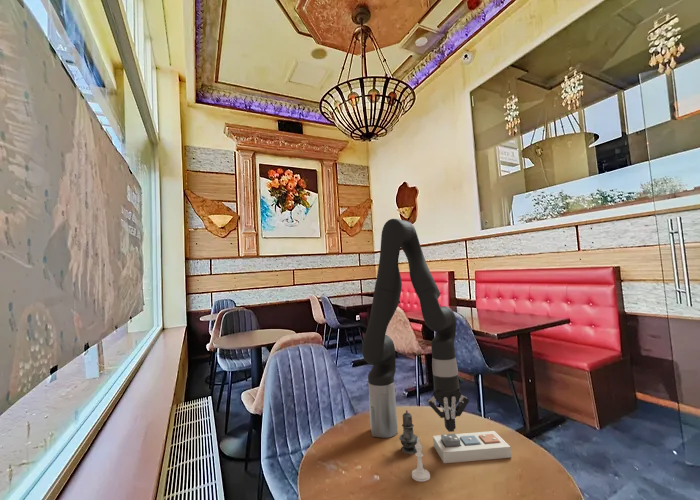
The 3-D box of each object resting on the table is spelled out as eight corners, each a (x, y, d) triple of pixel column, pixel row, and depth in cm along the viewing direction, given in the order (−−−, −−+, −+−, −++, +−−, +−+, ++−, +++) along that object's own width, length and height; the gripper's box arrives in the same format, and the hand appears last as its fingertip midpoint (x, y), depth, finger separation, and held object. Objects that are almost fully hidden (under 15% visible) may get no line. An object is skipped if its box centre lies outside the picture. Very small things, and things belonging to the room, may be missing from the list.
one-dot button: (466, 452, 99) (465, 442, 99) (460, 444, 104) (460, 435, 104) (480, 451, 99) (479, 441, 100) (474, 443, 104) (473, 434, 104)
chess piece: (431, 472, 92) (428, 435, 93) (428, 483, 87) (425, 443, 88) (414, 469, 94) (411, 432, 95) (409, 479, 89) (406, 440, 90)
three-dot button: (446, 450, 99) (445, 441, 99) (441, 443, 103) (440, 434, 104) (460, 449, 99) (460, 439, 99) (455, 442, 104) (454, 433, 104)
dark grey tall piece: (419, 455, 101) (416, 414, 102) (399, 454, 102) (396, 413, 103) (419, 445, 107) (416, 406, 108) (400, 444, 108) (398, 406, 109)
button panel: (443, 463, 96) (443, 452, 96) (433, 445, 106) (432, 436, 106) (511, 457, 97) (510, 446, 97) (495, 440, 107) (494, 430, 107)
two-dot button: (486, 450, 100) (485, 441, 100) (479, 443, 104) (478, 434, 104) (500, 449, 100) (499, 440, 100) (493, 442, 104) (492, 433, 104)
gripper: (461, 367, 107) (466, 423, 106) (421, 370, 106) (425, 427, 105) (471, 374, 100) (476, 434, 98) (427, 377, 99) (432, 438, 98)
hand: (450, 430), depth 102 cm, fingers closed
